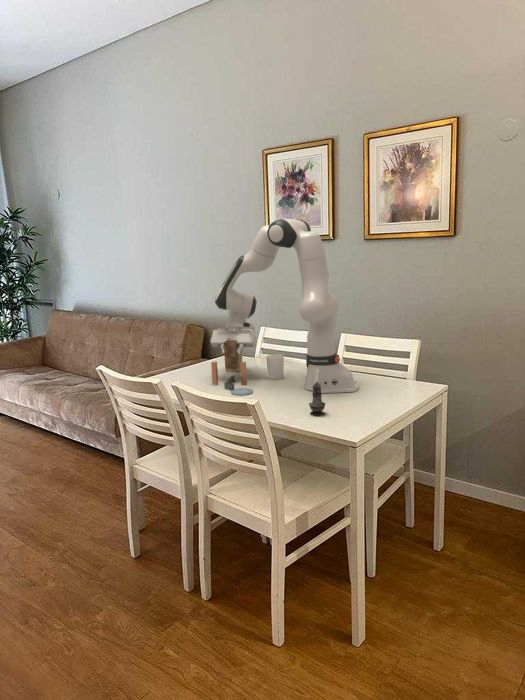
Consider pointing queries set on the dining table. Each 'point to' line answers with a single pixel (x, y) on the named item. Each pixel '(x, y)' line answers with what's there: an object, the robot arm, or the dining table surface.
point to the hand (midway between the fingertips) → (230, 354)
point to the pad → (242, 391)
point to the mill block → (231, 354)
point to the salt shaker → (317, 401)
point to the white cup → (275, 366)
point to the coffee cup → (238, 363)
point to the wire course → (229, 382)
